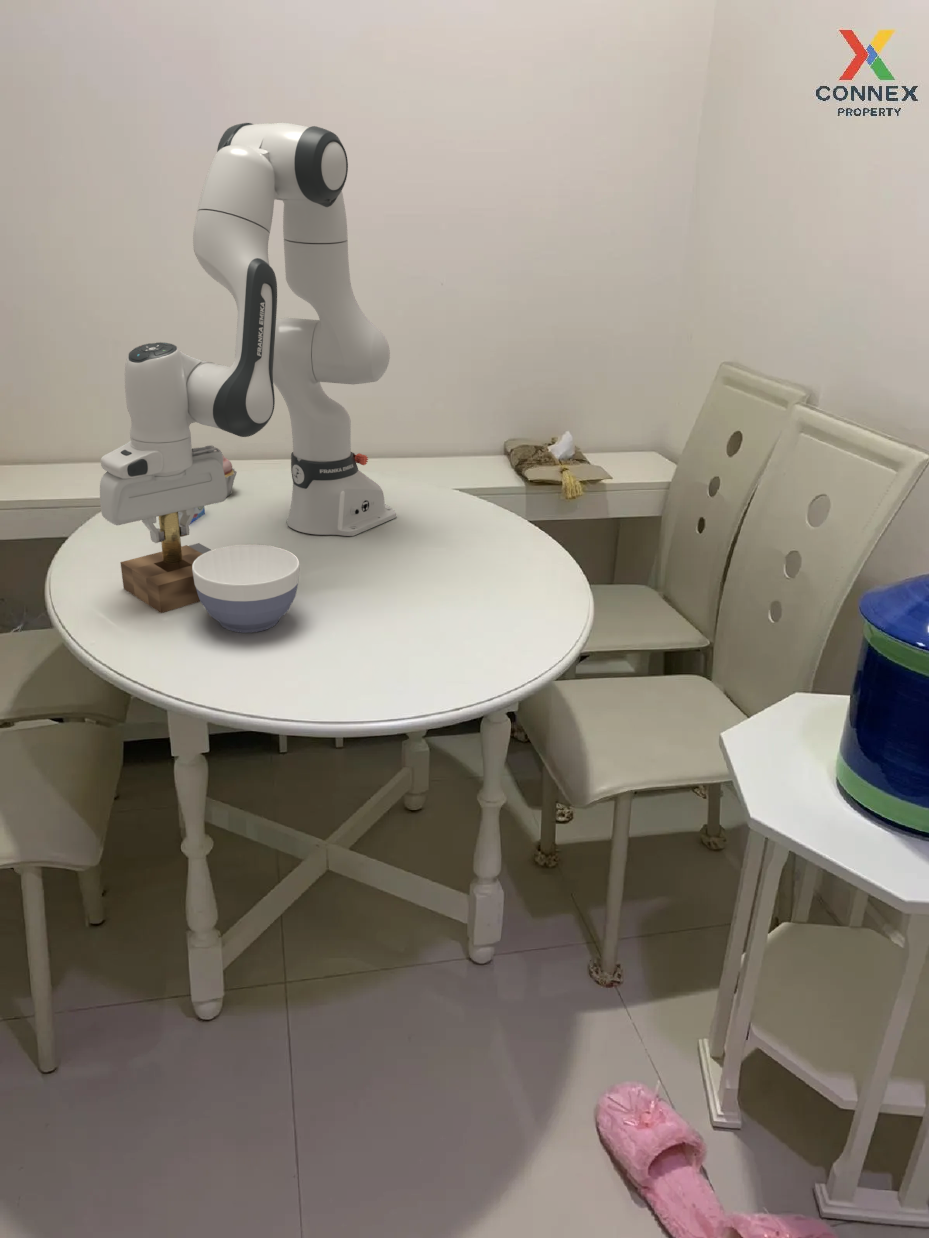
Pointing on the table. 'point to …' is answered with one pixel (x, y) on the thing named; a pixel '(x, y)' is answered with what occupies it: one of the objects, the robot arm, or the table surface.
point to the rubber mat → (200, 548)
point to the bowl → (246, 585)
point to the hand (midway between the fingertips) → (170, 538)
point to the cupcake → (228, 474)
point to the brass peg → (171, 538)
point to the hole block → (162, 580)
